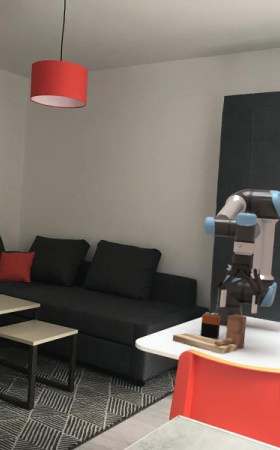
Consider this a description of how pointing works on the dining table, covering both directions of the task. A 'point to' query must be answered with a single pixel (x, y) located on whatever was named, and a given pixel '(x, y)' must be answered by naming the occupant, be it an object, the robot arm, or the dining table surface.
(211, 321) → the battery
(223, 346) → the board
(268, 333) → the dining table surface
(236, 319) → the wooden mallet
